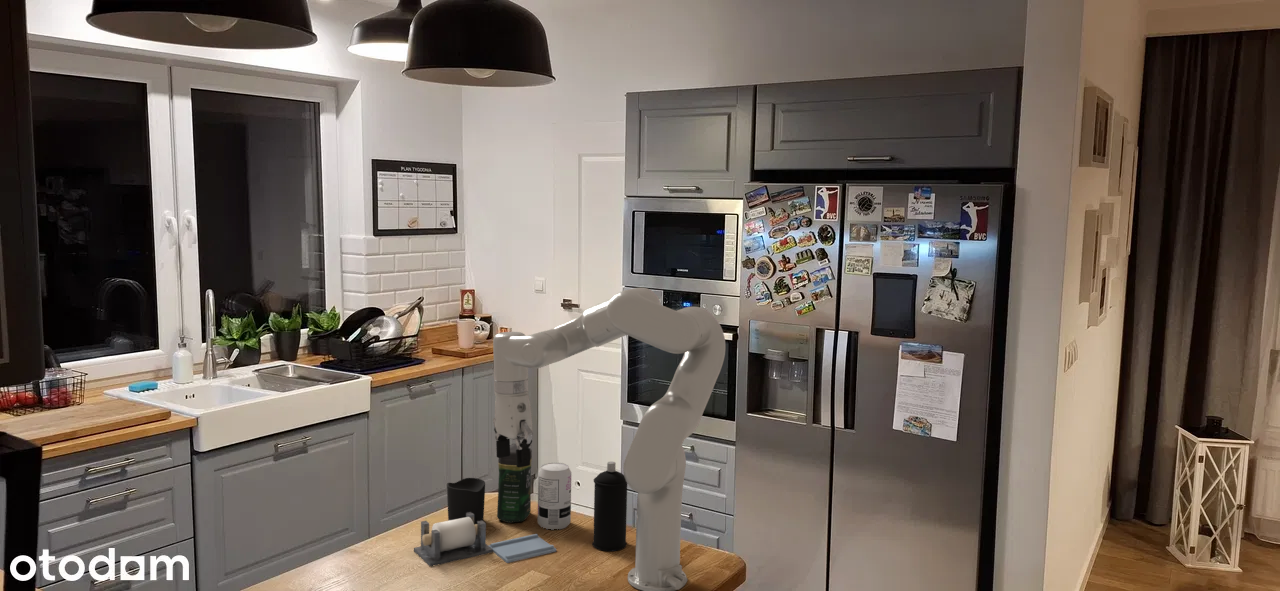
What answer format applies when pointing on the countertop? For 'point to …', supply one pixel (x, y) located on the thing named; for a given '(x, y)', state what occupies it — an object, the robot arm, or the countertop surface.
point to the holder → (436, 557)
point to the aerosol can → (610, 510)
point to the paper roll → (454, 533)
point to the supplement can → (554, 496)
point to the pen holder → (466, 499)
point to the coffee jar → (513, 488)
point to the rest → (521, 548)
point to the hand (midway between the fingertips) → (513, 461)
